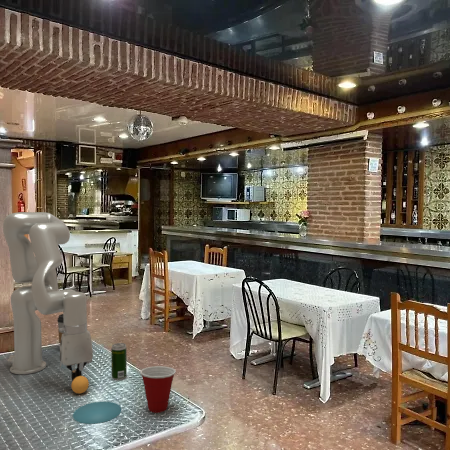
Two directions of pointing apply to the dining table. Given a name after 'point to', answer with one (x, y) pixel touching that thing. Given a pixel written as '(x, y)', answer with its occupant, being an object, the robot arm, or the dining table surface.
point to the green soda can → (119, 361)
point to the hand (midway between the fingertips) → (76, 381)
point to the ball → (80, 384)
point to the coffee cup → (60, 326)
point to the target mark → (97, 412)
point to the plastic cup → (157, 386)
